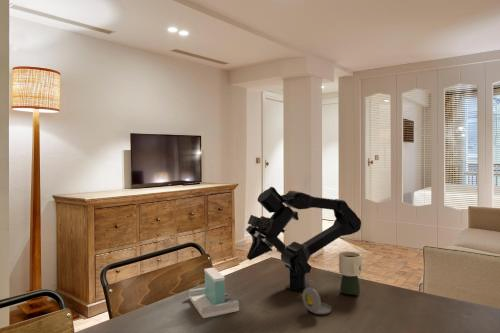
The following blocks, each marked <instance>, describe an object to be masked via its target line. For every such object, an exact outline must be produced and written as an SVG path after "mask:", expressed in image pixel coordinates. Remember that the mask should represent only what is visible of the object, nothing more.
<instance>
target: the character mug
mask: <svg viewBox="0 0 500 333" xmlns="http://www.w3.org/2000/svg"><path fill="white" fill-rule="evenodd" d="M338 271H339V273H340V275H342V276H341V281H340V290H339V291H340V292H341V293H343V294H346V295H350V296H352V295H353V296H357V295H360V293H361V289H360V286H361V285H360V280H359V279H360V278H359V277H358V276H360V275H361V274H362V254H361V253H359V252H356V251H347V250H346V251H341V252H339V253H338Z"/></svg>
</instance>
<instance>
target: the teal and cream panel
mask: <svg viewBox="0 0 500 333" xmlns="http://www.w3.org/2000/svg"><path fill="white" fill-rule="evenodd" d="M203 272H204V287H205V295H206V296H207V298H208V299H209V300H210V301H211V302H212V304H213V305H216V304H221V303H225V292H226V290H225V289H226V288H225V286H226V285H225V283H226V282H225V281H226V279H225V278H226V277H225V276H224V275H222V274H221V272H219V271H218V270H217V268H215V267H207V268H203Z"/></svg>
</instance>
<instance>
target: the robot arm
mask: <svg viewBox="0 0 500 333" xmlns="http://www.w3.org/2000/svg"><path fill="white" fill-rule="evenodd" d="M257 203H259V204H260V205H261V206H262V207H263V208H264V209H265V210H266V211H267V212H268V213H270V214H271V213H272V215H271V216H270V217H265V216H263V215H261V216H260V217H258V216H256V215H253V214H250V216H249V219H248V221H247V224H248V226H247V228H245V231H246V232H247V233H248V234H249V235H250V237H251V239H252V241H251V242H252V243H251V246H250V248H249V251H248V253H247V256H246V259H247V260H249V261H252V260H254V259H256V258H258V257H260V256H263V255H264V254H267V253H269V252H273V249H272V248H273V247H274V248H275V249H276V251H277V252H278V253H279V254H281V255H280V260H281V263H282V264H284V266H285V268H287V269H289V270H288V274H289V275H288V284H287V285H286V286H285V290H291V291H296V292H299V293H303V291H304V290H305V289H306V288H310V284H309V283H307V281H306V280H307V274H310V272H311V270H312V266H311V264H310V263H308V261H309V260H310V258H311V256H312V255H313V254H315V253H317V252H318V251H320V250H322V249H323V248H325V247H326V246H328V245H329V244H331V243H333V242H334V241H336V240H338V239H339V238H340V237H343V236H350V235H354V234H355V233H358V232H359V231H360V230H361V229H362V228H361V227H362V222H361V218H360V217H358V215H357V214H356V212H355V211H354V210H353V209H352V208H351V207H349V205H348V203H347V202H346V201H345V200H343V199H339V198H335V199H332V198H327V197H319V196H312V195H310V194H308V193H305V192H302V191H295V190H289V191H288V192H286V194H280V193H279V192H278V191H277V189H276V188H275V187H273V186H270V187H269V188H268V189H265V190H263V192H261V193H260V194H259V195H258V197H257ZM312 208H313V209H325V210H332V211H333V216H334V217H335V220H334V222H333V224H332V225H331V226H330V227H328V228H326V229H324V230H322V231H321V232H320V233H318V234H316V235H315V236H313V237H311V238H310V239H308V240H307V241H304V242H302V243H299V242H296V241H293V242H291V243H290V244H288V245H286V244H285V243H284V242H283V241H282V240H281V239H280V238H279V236H280V234H281V233H282V234H284V233H285V231H286V230H285V228H286V227H287V225H288V224H289V223H290V222H291V220H292V219H293V220H294V221H299V220H300V219H299V212H298V211H295V210H293V209H296V210H307V209H308V210H309V209H312Z"/></svg>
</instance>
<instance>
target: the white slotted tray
mask: <svg viewBox="0 0 500 333" xmlns="http://www.w3.org/2000/svg"><path fill="white" fill-rule="evenodd" d="M188 294H189V295H188V296H189V300H190V301H191V303H192V304H193V306H194V307H195V309H196V310H197V311H198V313H199V315H200V316H201V317H202V319H206V318H212V317H216V316H217V317H218V316H220V315H225V314H230V313H234V312H238V311H240V301H239V300H235V299H233V298H232V297H231V296H230V295H229V293H227V292H226V291H225V303H221V304H216V305H213V304H212V302H211V301H210V300H209V299H208V298H207V296H206V295H205V286H204V287H198V288H194V289H189V291H188Z"/></svg>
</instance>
